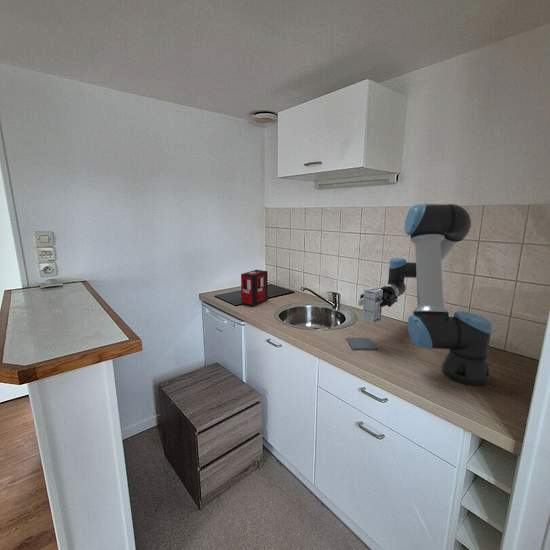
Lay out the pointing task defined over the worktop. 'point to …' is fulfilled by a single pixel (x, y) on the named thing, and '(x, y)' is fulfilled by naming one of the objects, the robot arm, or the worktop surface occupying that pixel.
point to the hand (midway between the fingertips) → (367, 304)
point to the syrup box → (372, 304)
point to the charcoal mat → (361, 344)
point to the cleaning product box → (254, 287)
